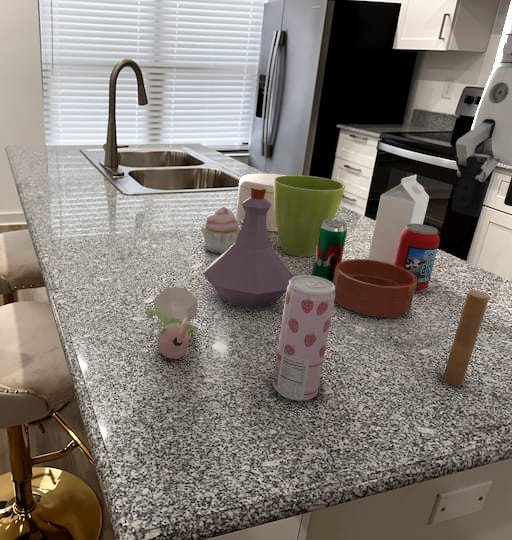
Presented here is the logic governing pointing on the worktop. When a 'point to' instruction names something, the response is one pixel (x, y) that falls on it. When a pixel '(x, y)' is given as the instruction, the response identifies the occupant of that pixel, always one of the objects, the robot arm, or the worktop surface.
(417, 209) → the milk carton
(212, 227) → the cupcake
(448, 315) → the worktop surface
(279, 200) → the flower pot
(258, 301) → the flask
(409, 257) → the beverage can
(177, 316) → the figurine
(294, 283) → the beverage can
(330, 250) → the soda can
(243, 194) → the container
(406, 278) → the bowl
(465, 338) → the stick
